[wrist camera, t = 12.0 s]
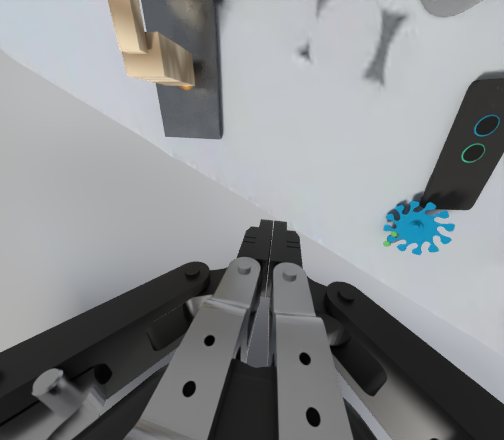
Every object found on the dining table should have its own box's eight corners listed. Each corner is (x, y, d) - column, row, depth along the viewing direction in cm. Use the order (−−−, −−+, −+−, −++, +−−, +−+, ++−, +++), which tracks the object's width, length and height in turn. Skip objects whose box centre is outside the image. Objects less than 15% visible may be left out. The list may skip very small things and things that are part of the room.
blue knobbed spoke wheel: (427, 189, 34) (472, 238, 30) (428, 194, 38) (468, 238, 34) (366, 221, 40) (397, 266, 36) (373, 222, 45) (402, 263, 41)
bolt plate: (221, 138, 37) (195, 147, 27) (168, 135, 38) (124, 143, 28) (210, -94, 24) (152, -254, 14) (131, -86, 25) (22, -225, 15)
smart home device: (550, 75, 25) (472, 210, 35) (535, 77, 27) (464, 206, 36) (477, 79, 27) (421, 209, 36) (467, 81, 28) (416, 205, 38)
